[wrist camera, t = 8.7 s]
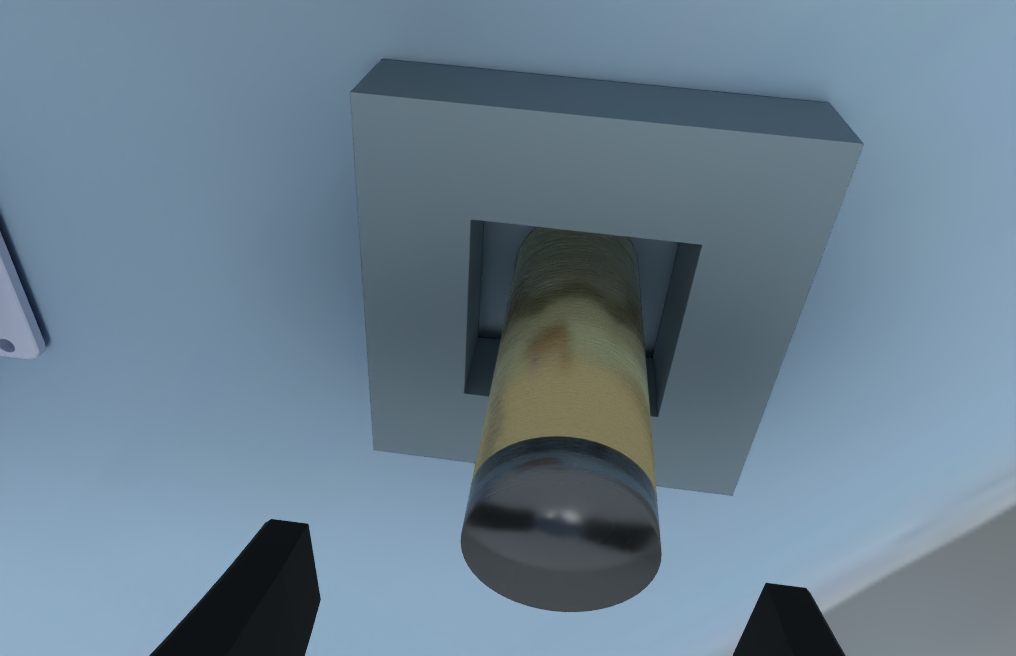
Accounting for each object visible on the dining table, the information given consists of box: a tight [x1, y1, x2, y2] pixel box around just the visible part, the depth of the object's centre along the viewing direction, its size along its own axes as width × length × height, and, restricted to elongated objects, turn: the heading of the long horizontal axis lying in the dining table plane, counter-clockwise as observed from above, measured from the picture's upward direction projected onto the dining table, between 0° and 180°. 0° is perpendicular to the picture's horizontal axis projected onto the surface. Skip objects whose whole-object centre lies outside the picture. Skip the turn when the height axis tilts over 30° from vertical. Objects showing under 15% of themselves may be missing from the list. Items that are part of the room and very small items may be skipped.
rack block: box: [350, 59, 864, 496], centre depth 18 cm, size 10×10×2 cm
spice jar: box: [461, 227, 661, 612], centre depth 15 cm, size 3×3×9 cm
